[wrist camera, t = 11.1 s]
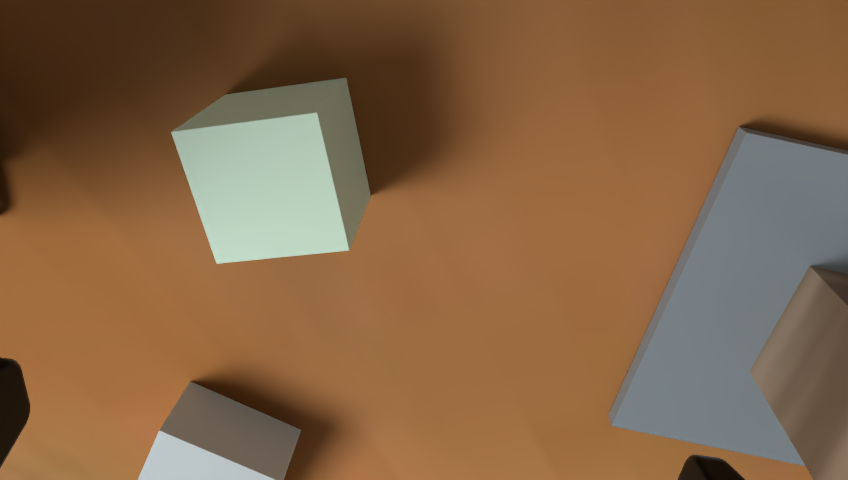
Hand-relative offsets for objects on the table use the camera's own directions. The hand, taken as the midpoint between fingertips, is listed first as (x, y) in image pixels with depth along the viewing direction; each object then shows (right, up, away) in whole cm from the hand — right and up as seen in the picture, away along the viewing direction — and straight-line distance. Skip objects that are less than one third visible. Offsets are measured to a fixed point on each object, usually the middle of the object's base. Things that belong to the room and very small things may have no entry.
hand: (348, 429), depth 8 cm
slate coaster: (+15, 0, +14) cm, 20 cm away
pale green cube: (-3, +6, +12) cm, 14 cm away
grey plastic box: (-8, -6, +19) cm, 21 cm away
